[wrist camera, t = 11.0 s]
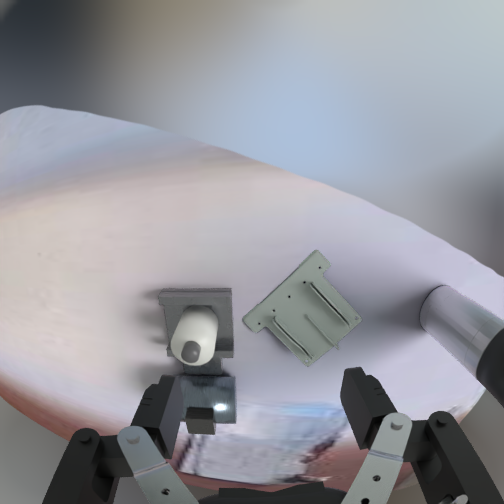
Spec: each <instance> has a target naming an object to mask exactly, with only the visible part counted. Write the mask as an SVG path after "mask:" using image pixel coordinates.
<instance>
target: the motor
mask: <svg viewBox="0 0 504 504" xmlns="http://www.w3.org/2000/svg"><path fill="white" fill-rule="evenodd" d="M158 299H159V305H164V311H165V318H166V325H167V332H168V338H169V345H168V347H167V356H173V357H175V355H174V354H173V352H172V350H171V339H172V337H173V335H174V332H175V330H176V328H177V325H178V323H179V321H180V319H181V316H182V314H183V312H184V311H185V310H186V309H187V308H189V307H191V306H196V305H200V306H205V307H207V308H209V309H211V310H212V311H213V312H214V313H215V315H216V316H217V318H218V331H217V337H216V343H215V349H214V354H213V357H212V358H211V359H210V360H209V361H208V362H207V363H205V364H202V365H196V366H194V365H188V364H185V363H183V366H184V372H185V373H186V374H221V375H222V369H223V365H222V358H233V355H234V339H233V317H232V292H231V288H225V289H163V290H162V292H161V293H160V295H159V296H158ZM173 376H178V377H179V381H180V386H181V390H182V395H183V399H184V409H183V413H182V417H181V422H186V425H187V429H188V433H192V434H210V435H215V431H216V423H222V424H236V419H237V401H236V380H235V377H207V376H182V375H173Z"/></svg>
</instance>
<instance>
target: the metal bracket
mask: <svg viewBox="0 0 504 504" xmlns="http://www.w3.org/2000/svg"><path fill="white" fill-rule="evenodd" d="M319 266H320V267H321V269H319ZM330 266H331V264H330V262H329V261H328V260H327V259H326V258H325V257H324V256H323V255H322V254H321V253H320V252H319V251H318V250H314V251H313V252H312V253H311V254H310V255H309V256H308V257H307V258H306V259H305V260H304V261H303V262H302V263H301V264H300V265H299V268H298V269H297V270H296V271H294V272H293V273H292V274H291V275H290V276H289V277H288V278H287V279H286V280H285V281H284V282H283V283H282V284H281V285H280V286H279V287H278V288H276V289H275V290H274V291H273V292H272V293H271V294H270V295H269V296H268V297H267V298H266V299H265V300H264V301H262V302H261V303H260V304H257V305H256V306H255V307H254V308H253V309H252V310H251V311H250V312H249V313H248V314H246V315H245V316H244V317H243V321H244V322H245V323H246V324H247V325H248V327H249V328H250V329H251V330H252V331H253V332H255V333H258V332H259V331H260V330H262V329H263V328H264V327H268V328H269V329H270V330H271V331H272V332H273V333H274V334H275V336H276V337H277V338H278V339H279V340H280V341H281V342H282V343H283V344H284V345H285V346H286V347H287V348H288V349H289V350H290V351H291V352H292V353H293V354H294V355H295V356H296V357H297V358H298V359H299V360H300V361H302V362H303V363H304V364H305V365H306V366H307V367H308V366H310V365H311V364H312V363H314V362H315V361H316V360H317V359H319V358H320V357H321V356H322V355H324V354H325V353H326V352H327V351H328V350H329V349H331V348H332V347H333V346H335V347H336V348H337V349H338V350H339V347H338V345H337V343H338V342H339V341H340V340H341V339H342V338H343V337H345V336H346V335H347V334H348V333H349V332H350V331H351V330H352V329H353V328H355V327H356V326H357V325H358V324H359V323H360V322H361V321H362V318H361V317H360V316H359V315H358V313H357V312H356V311H355V310H354V309H353V308H352V307H351V306H350V305H349V304H348V302H347V301H346V300H345V299H344V298H343V297H342V296H341V295H340V294H339V293H338V292H337V290H336V289H335V288H334V287H333V286H332V285H331V284H330V283H329V282H328V281H327V280H326V279H325V278H324V276H323V273H324V272H325V271H326V270H327V269H328V268H329V267H330ZM304 281H305V282H306V283H305V284H304V283H303V282H304ZM289 295H290V298H288V296H289ZM273 309H275V312H274V311H273ZM356 316H357V317H358V319H357V320H356V319H355V317H356ZM258 323H260V325H259V324H258ZM305 360H308V362H305Z"/></svg>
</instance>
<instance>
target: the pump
mask: <svg viewBox="0 0 504 504" xmlns="http://www.w3.org/2000/svg"><path fill="white" fill-rule="evenodd" d="M217 331H218V318H217V316H216V315H215V313H214V312H213V311H212V310H211V309H209V308H207V307H205V306H200V305H196V306H191V307H189V308H187V309H186V310H185V311H184V312H183V314H182V316H181V319H180V321H179V323H178V325H177V328H176V330H175V332H174V335H173V337H172V339H171V350H172V352H173V354H174V355H175V357H176V358H177V359H178V360H180V361H181V362H183V363H185V364H188V365H194V366H196V365H202V364H205V363H207V362H208V361H209V360H210V359H211V358H212V357H213V354H214V349H215V343H216V337H217Z"/></svg>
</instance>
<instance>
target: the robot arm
mask: <svg viewBox="0 0 504 504" xmlns="http://www.w3.org/2000/svg"><path fill="white" fill-rule="evenodd" d="M420 323H421V326H422V327H423V328H424V329H425V330H426V331H427V332H428V333H429V334H430V335H431V336H432V337H433V338H434V339H435V340H436V341H438V342H439V343H440V344H441V345H442V346H443V347H444V348H445V349H446V350H447V351H448V352H449V353H450V354H451V355H452V356H453V357H455V358H456V359H457V360H458V361H459V362H460V363H461V364H462V365H463V366H464V367H465V368H466V369H467V370H468V371H469V372H470V373H471V374H472V375H473V376H474V377H475V378H476V379H477V380H478V381H479V382H480V383H481V384H482V385H483V386H484V387H485V388H486V389H487V390H488V391H489V392H490V393H491V394H492V395H493V396H494V397H495V398H496V399H497V400H498V402H499V403H500V404H501V405H502V406H503V408H504V320H503V319H501V318H500V317H498V316H497V315H495V314H494V313H492V312H490V311H489V310H487V309H486V308H484V307H483V306H481V305H480V304H478V303H476V302H475V301H473V300H471V299H470V298H468V297H467V296H465V295H463V294H462V293H460V292H458V291H457V290H455V289H453V288H451V287H450V286H446V285H445V286H440V287H438V288H436V289H435V290H433V291H432V292H431V293H430V294H429V296H428V297H427V298H426V300H425V301H424V303H423V306H422V308H421V312H420ZM340 398H341V403H342V405H343V408H344V410H345V413H346V415H347V418H348V420H349V423H350V425H351V428H352V430H353V433H354V436H355V438H356V441H357V443H358V446H359V448H360V450H362V449H366V448H368V449H369V453H368V455H367V457H366V459H365V461H364V463H363V465H362V467H361V469H360V471H359V473H358V475H357V477H356V478H355V480H354V482H353V484H352V486H351V487H350V489H349V491H348V493H347V492H345V491H342V490H339V489H335V488H329V487H324V484H323V481H322V482H316V483H309V484H301V485H296V486H293V487H290V488H286V489H283V490H279V491H276V492H265V491H258V490H252V489H246V488H219V494H214V495H211V496H207V497H205V498H202V499H200V500H198V501H197V500H196V499H195V498H194V496H193V495H192V494H191V493H190V491H189V490H188V489H187V488H186V486H185V485H184V484H183V482H182V481H181V480H180V478H179V477H178V476H177V474H176V473H175V471H174V470H173V469H172V467H171V466H170V464H169V463H168V462H166V461H165V460H164V458H165V459H172V455H173V451H174V446H175V442H176V438H177V434H178V430H179V426H180V421H181V417H182V413H183V409H184V399H183V395H182V390H181V386H180V381H179V377H178V376H173V375H162V376H161V379H160V381H159V384H152V385H151V386H150V387H148V388H147V389H146V390H145V392H144V395H143V397H142V399H141V402H140V405H139V406H138V409H137V411H136V413H135V416H134V418H133V420H132V423H131V425H130V426H129V427H126V428H124V429H122V430H121V431H120V432H119V433H118V435H113V436H99V434H98V432H97V431H95V430H93V429H91V428H83V429H80V430H78V431H76V432H75V433H74V434H73V436H72V438H71V440H70V442H69V444H68V446H67V448H66V450H65V452H64V454H63V457H62V459H61V461H60V463H59V466H58V467H57V470H56V472H55V474H54V476H53V479H52V481H51V484H50V486H49V488H48V490H47V493H46V495H45V498H44V500H43V503H42V504H113V502H114V497H115V494H116V490H117V486H118V483H119V479H120V477H132V476H134V477H135V478H136V480H137V482H138V484H139V485H140V487H141V489H142V491H143V493H144V494H145V496H146V498H147V499H148V501H149V502H150V504H386V503H387V500H388V498H389V496H390V494H391V491H392V489H393V486H394V484H395V481H396V479H397V476H398V474H399V471H400V468H401V465H402V463H403V462H411V465H412V467H413V470H414V472H415V474H416V477H417V479H418V482H419V484H420V487H421V489H422V492H423V494H424V496H425V499H426V502H427V504H504V501H503V499H502V497H501V495H500V493H499V491H498V490H497V488H496V486H495V484H494V482H493V480H492V479H491V477H490V475H489V473H488V472H487V470H486V468H485V466H484V465H483V463H482V461H481V460H480V458H479V456H478V455H477V453H476V452H475V450H474V448H473V447H472V445H471V443H470V442H469V440H468V439H467V437H466V436H465V434H464V432H463V431H462V429H461V428H460V426H459V425H458V423H457V422H456V420H455V419H454V417H453V416H452V415H451V414H450V413H448V412H445V411H437V412H434V413H432V414H431V415H430V417H429V419H428V420H417V421H413V420H411V419H410V418H409V417H408V416H407V415H405V414H403V413H398V412H397V410H396V408H395V407H394V405H393V403H392V402H391V400H390V398H389V397H388V395H387V394H386V392H385V390H384V389H383V388H382V385H381V384H380V382H379V381H378V380H377V379H376V378H375V377H373V376H372V375H367V376H366V374H365V373H364V371H363V369H362V368H361V367H355V368H348V369H345V371H344V376H343V382H342V387H341V392H340Z"/></svg>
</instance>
